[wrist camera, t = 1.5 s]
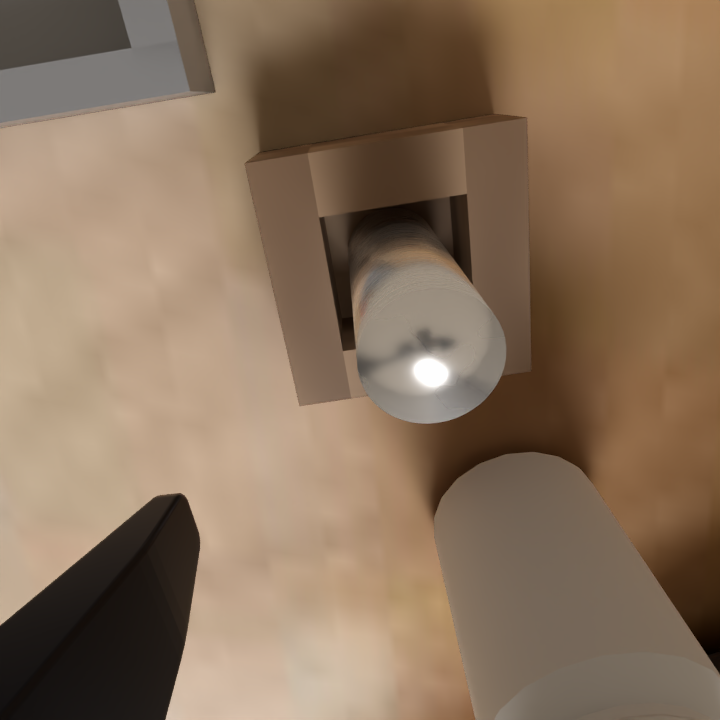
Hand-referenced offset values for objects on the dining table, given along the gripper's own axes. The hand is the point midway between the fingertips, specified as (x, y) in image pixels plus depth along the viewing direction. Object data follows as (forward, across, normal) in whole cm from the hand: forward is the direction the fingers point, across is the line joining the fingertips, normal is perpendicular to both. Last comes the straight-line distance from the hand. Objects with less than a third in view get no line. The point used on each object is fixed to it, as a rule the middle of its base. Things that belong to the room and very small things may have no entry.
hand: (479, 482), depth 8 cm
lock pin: (+13, 0, 0) cm, 13 cm away
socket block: (+14, 0, 0) cm, 14 cm away
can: (+14, -4, +13) cm, 19 cm away
